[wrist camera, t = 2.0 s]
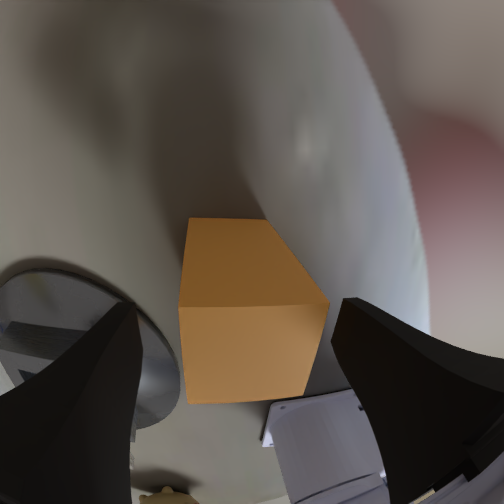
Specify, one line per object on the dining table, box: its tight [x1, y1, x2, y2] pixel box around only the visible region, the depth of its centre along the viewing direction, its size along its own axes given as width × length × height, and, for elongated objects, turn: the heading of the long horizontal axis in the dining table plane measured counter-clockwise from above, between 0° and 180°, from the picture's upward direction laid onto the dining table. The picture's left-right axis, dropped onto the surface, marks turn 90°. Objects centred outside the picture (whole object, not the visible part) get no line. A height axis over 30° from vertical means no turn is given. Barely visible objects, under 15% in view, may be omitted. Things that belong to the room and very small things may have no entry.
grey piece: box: [0, 268, 180, 470], centre depth 16 cm, size 16×24×4 cm, turn 175°
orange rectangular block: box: [178, 218, 330, 404], centre depth 11 cm, size 4×4×8 cm
